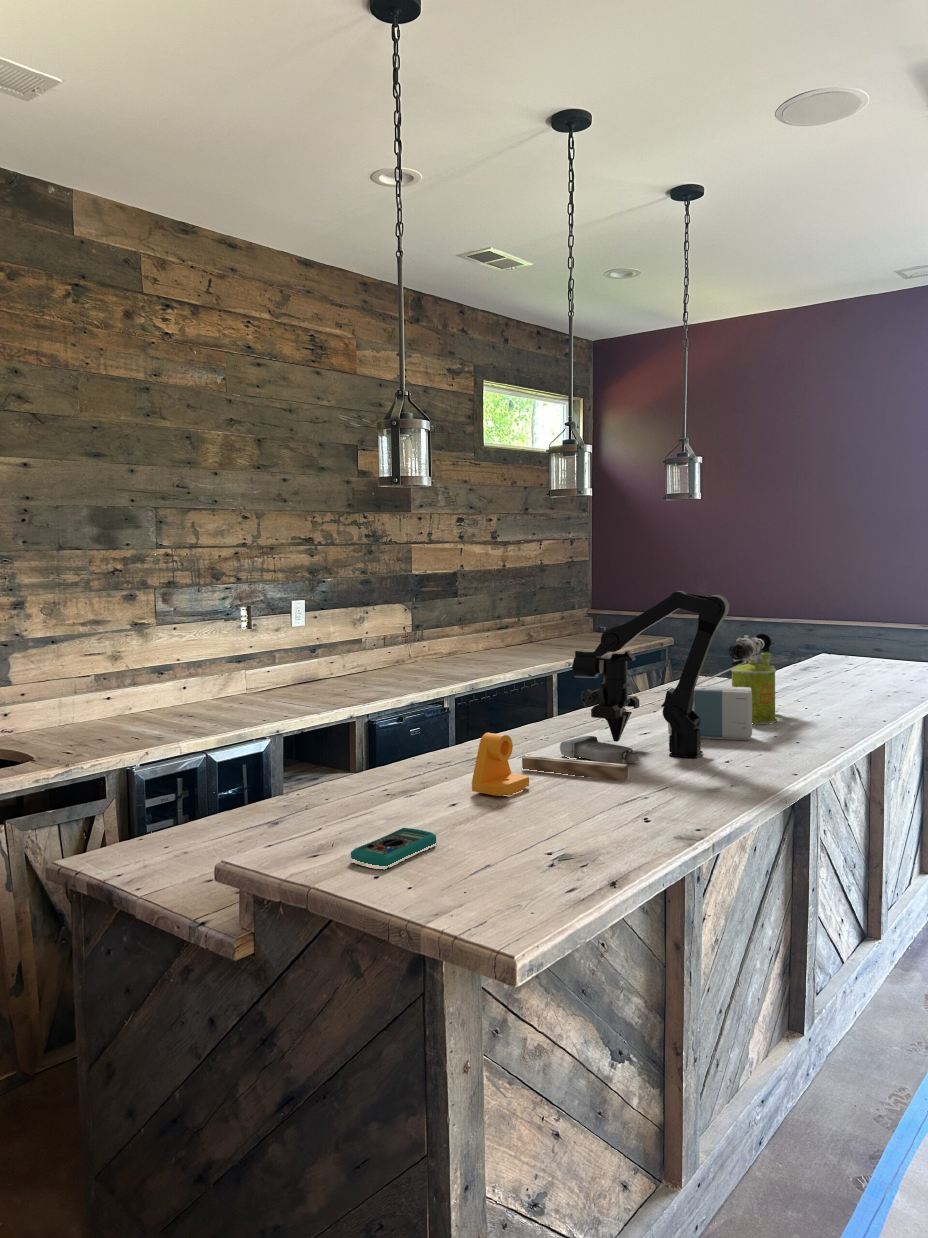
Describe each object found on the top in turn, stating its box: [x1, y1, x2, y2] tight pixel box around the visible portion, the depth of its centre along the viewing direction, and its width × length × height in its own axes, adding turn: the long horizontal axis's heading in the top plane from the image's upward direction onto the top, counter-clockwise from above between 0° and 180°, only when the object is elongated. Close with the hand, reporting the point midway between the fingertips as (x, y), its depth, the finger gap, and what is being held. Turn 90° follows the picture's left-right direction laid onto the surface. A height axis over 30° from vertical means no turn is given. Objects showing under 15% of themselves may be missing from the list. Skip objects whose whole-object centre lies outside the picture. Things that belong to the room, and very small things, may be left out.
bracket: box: [471, 732, 530, 797], centre depth 188 cm, size 11×7×12 cm, turn 141°
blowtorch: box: [728, 633, 778, 725], centre depth 258 cm, size 13×33×25 cm, turn 148°
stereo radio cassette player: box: [667, 661, 753, 742], centre depth 237 cm, size 21×8×20 cm, turn 68°
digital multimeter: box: [350, 827, 437, 866], centre depth 150 cm, size 7×15×3 cm, turn 146°
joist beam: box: [521, 754, 629, 782], centre depth 201 cm, size 24×3×3 cm, turn 61°
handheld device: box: [559, 735, 639, 764], centre depth 215 cm, size 10×20×5 cm, turn 46°
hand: (616, 741), depth 224 cm, fingers closed
